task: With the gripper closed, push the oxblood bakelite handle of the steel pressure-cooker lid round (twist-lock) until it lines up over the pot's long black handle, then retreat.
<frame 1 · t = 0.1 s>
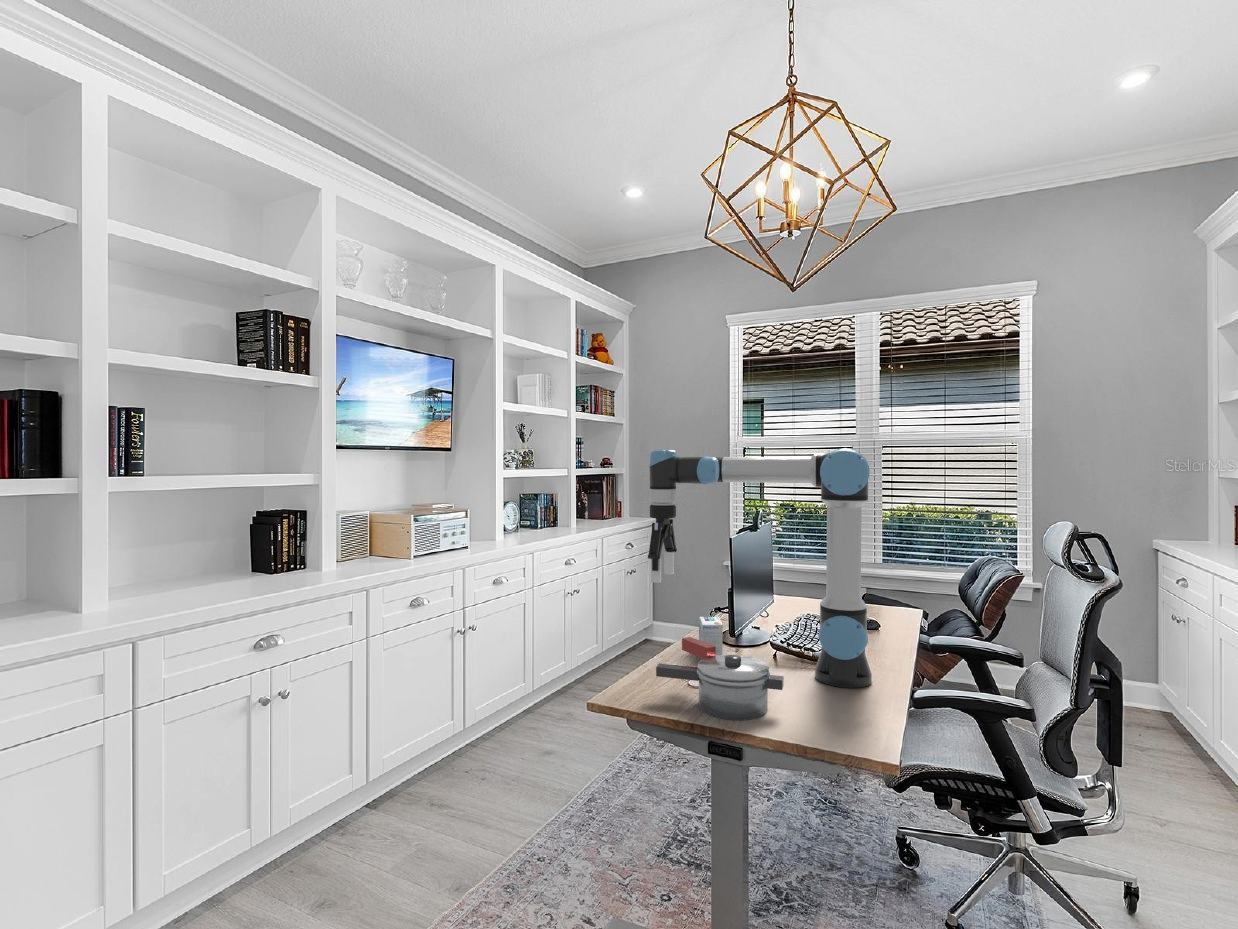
hand: (662, 578, 192), 28 cm above the table, fingers open, 13 cm apart
light bulb box: (710, 654, 213), on the table
lid: (719, 657, 172), point 11 cm above the table, hinge at -40.0°
cooker pot: (732, 706, 168), on the table
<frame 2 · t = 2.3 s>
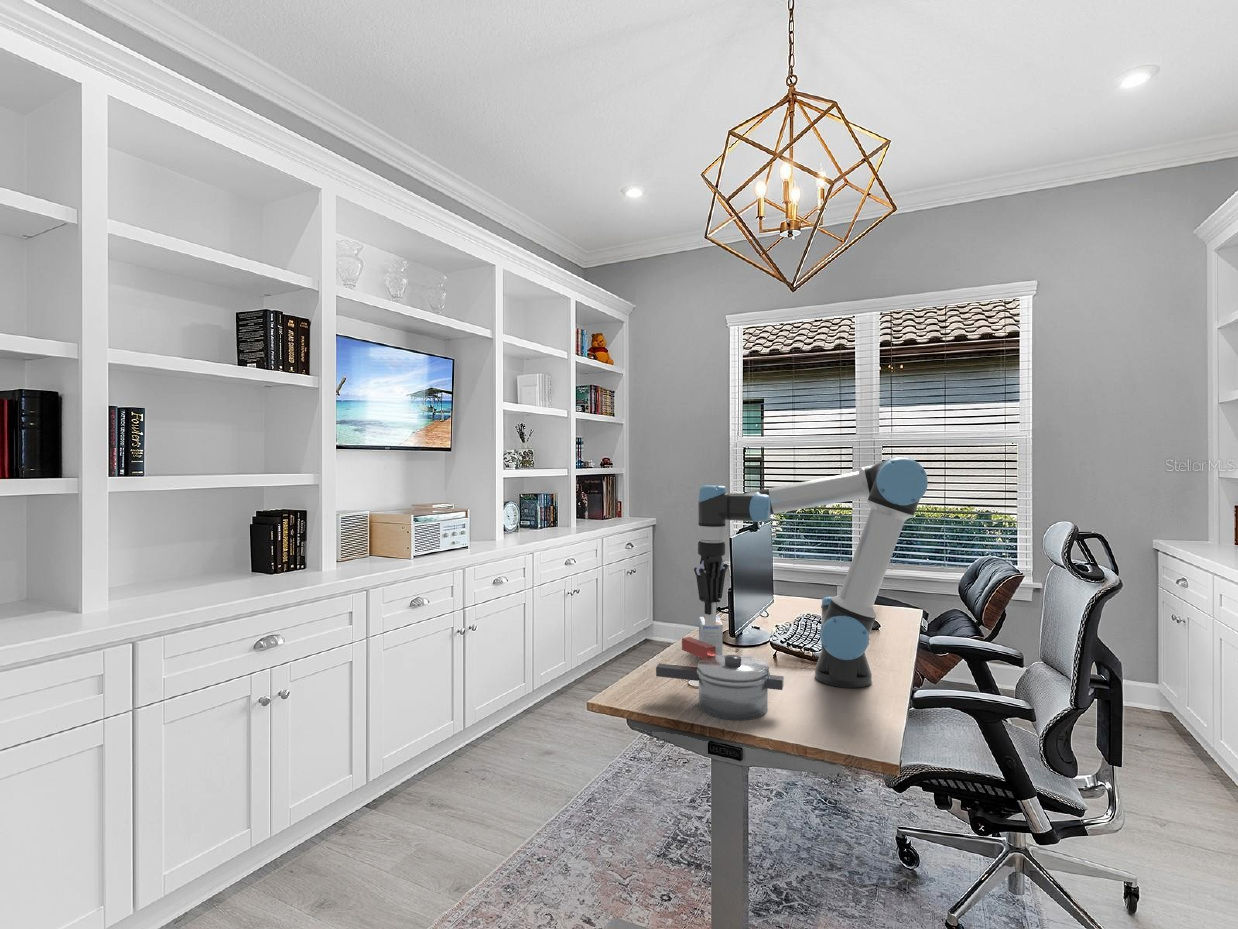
hand: (710, 625, 187), 16 cm above the table, fingers closed
nothing on the table moved.
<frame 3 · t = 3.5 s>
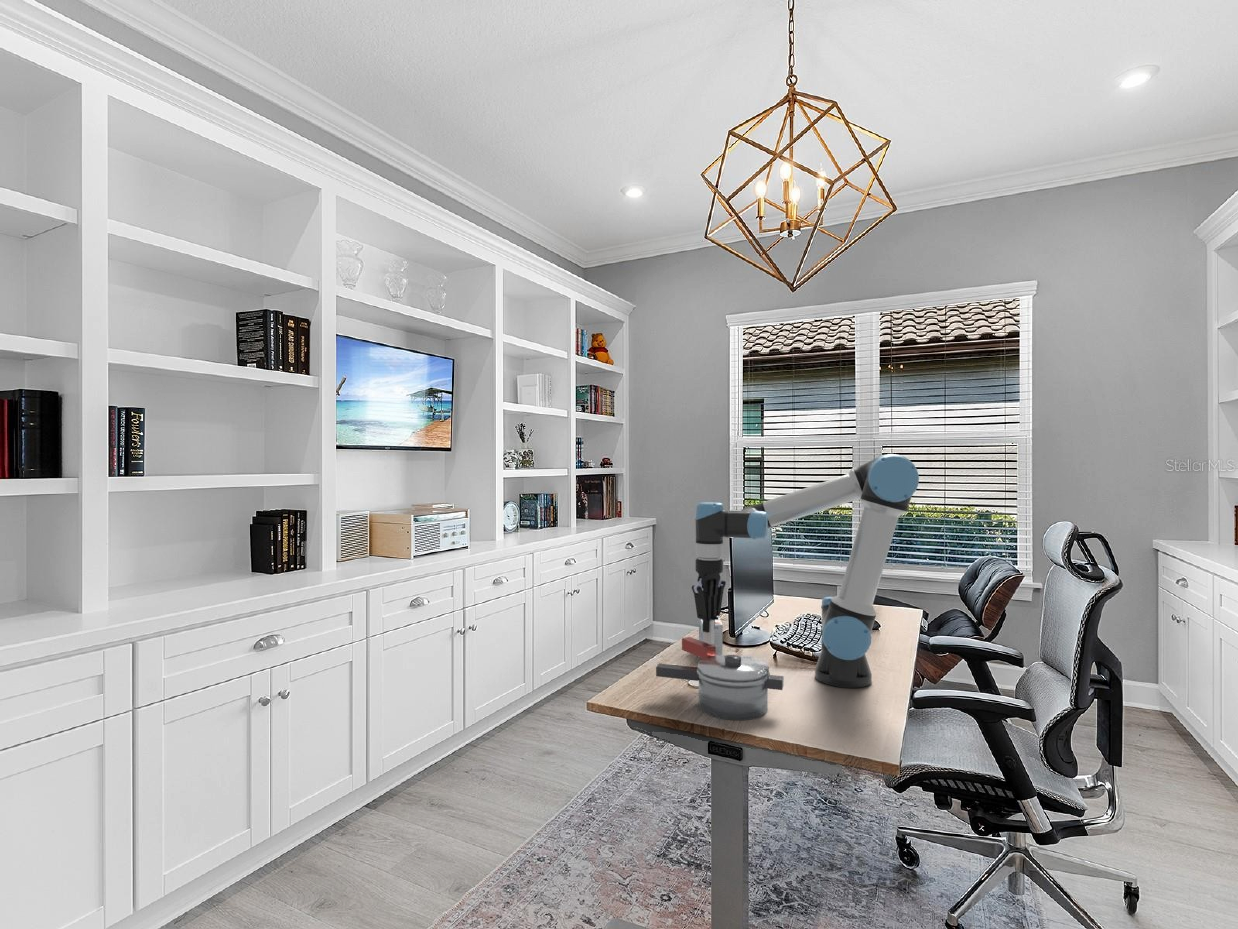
hand: (708, 643, 186), 11 cm above the table, fingers closed
nothing on the table moved.
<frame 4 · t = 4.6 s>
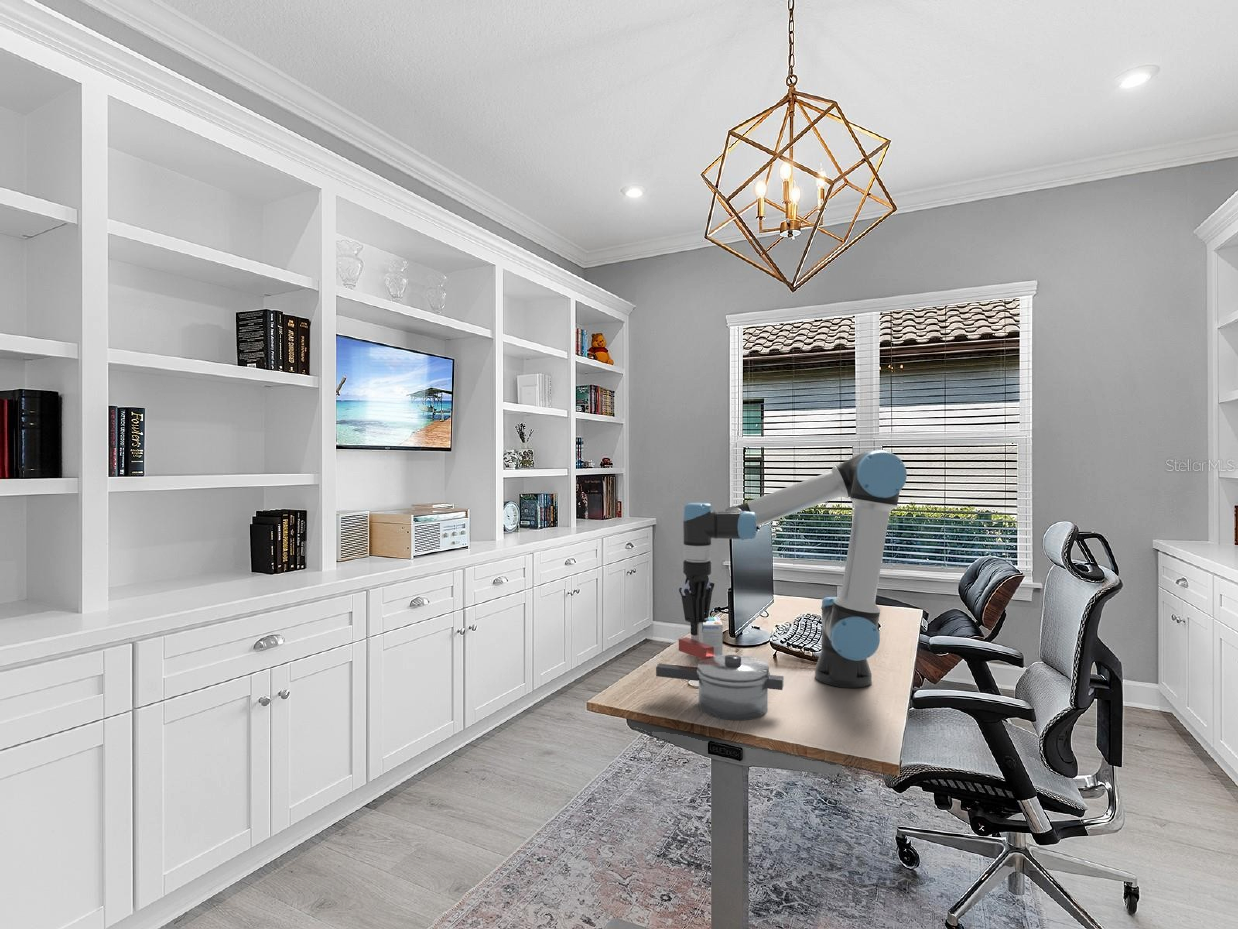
hand: (696, 646, 182), 11 cm above the table, fingers closed
lid: (718, 657, 172), point 11 cm above the table, hinge at -36.5°, touching gripper
everything else where it was.
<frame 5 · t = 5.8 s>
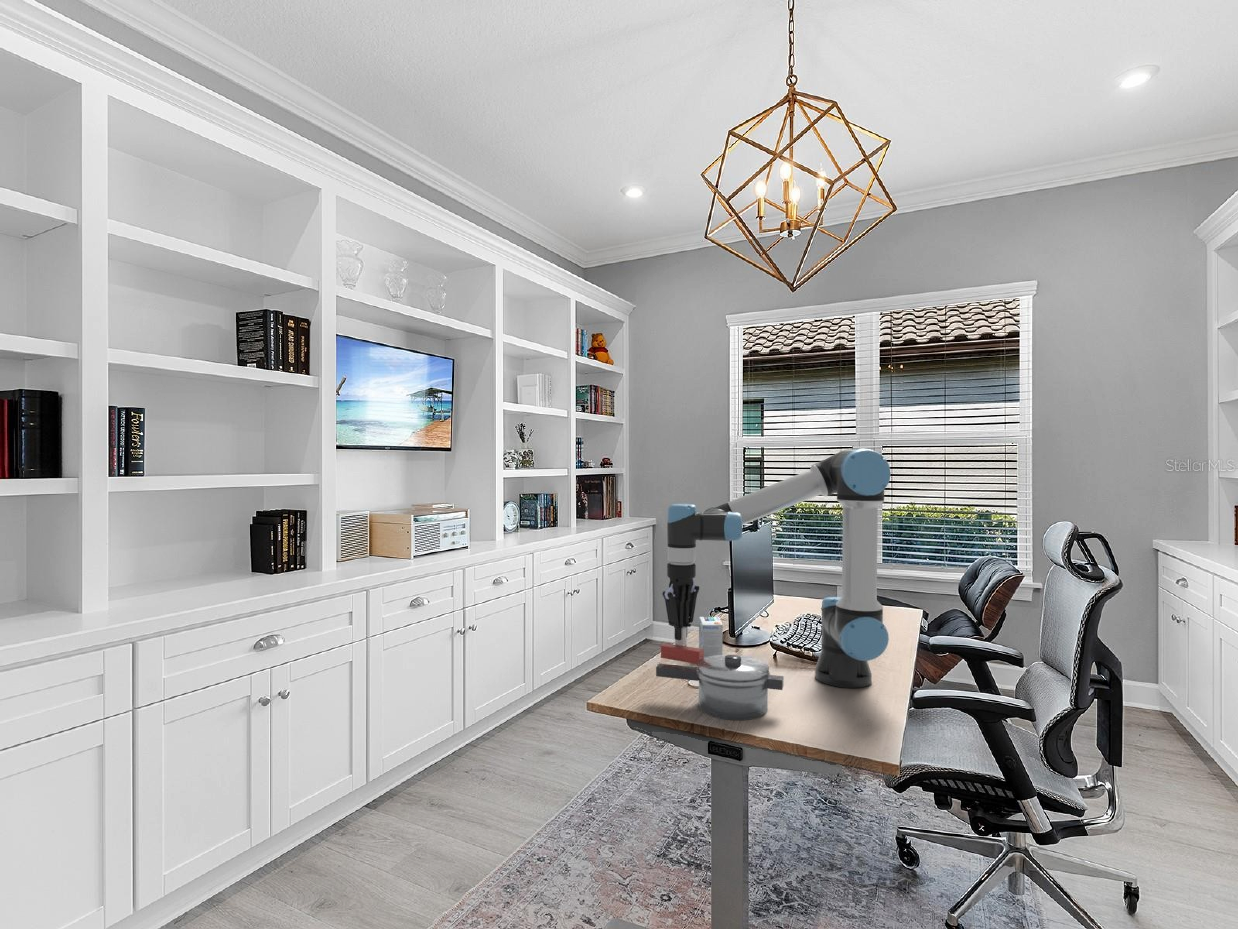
hand: (680, 651, 178), 11 cm above the table, fingers closed
lid: (713, 659, 170), point 11 cm above the table, hinge at -11.7°, touching gripper
everything else where it was.
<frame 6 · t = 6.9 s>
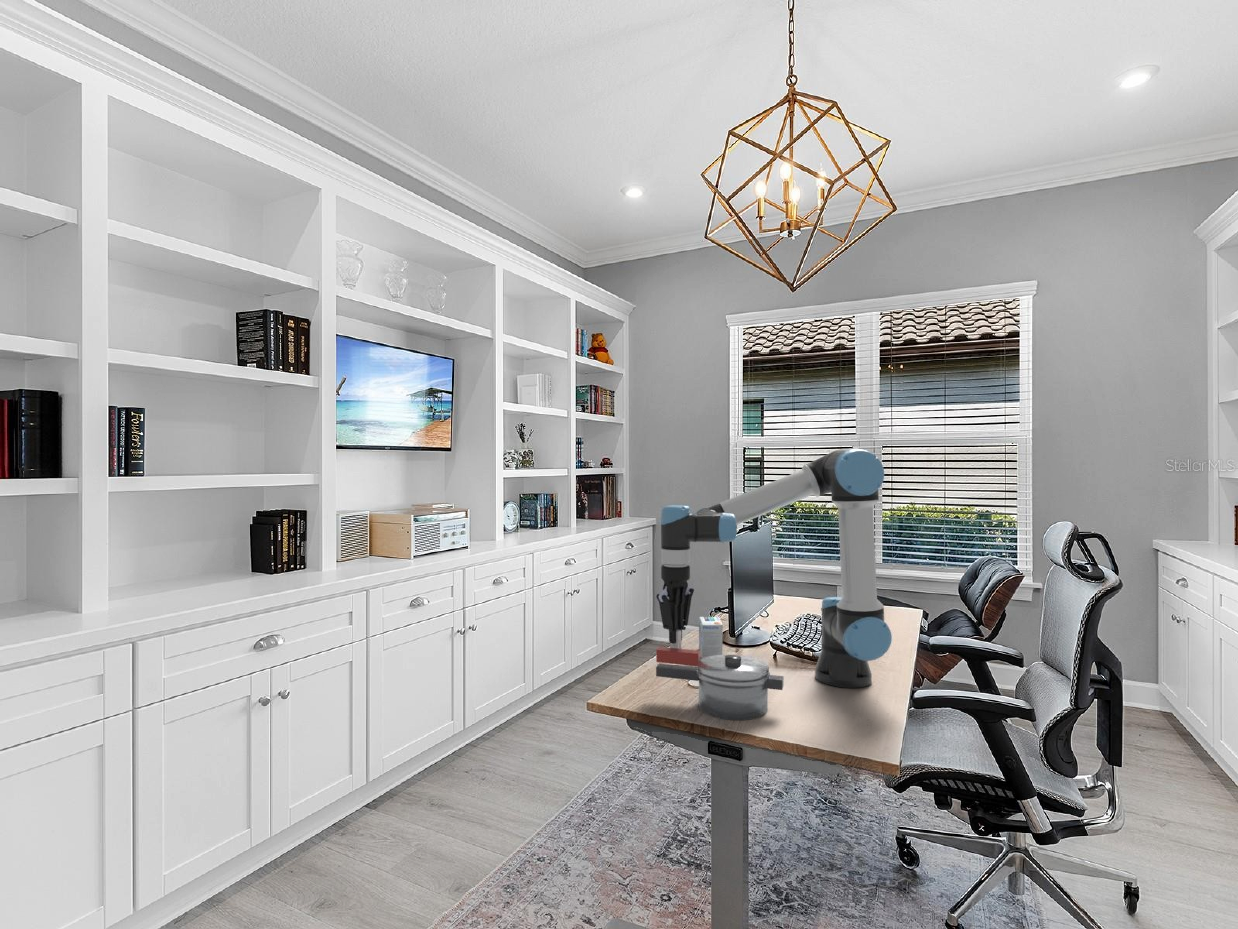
hand: (675, 654, 175), 11 cm above the table, fingers closed
lid: (711, 660, 169), point 11 cm above the table, hinge at -0.3°, touching gripper
everything else where it was.
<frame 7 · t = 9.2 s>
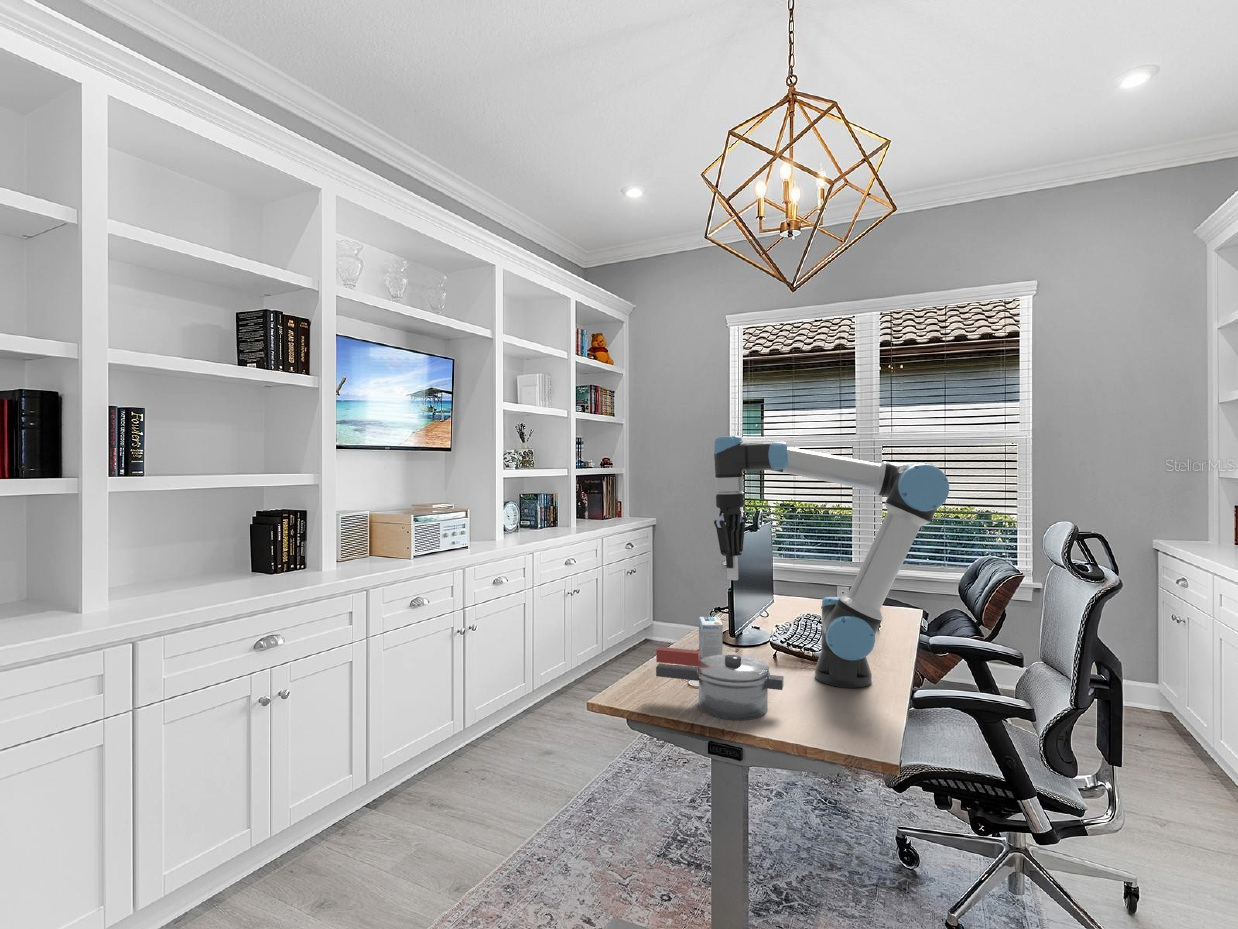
hand: (732, 579, 182), 29 cm above the table, fingers closed
lid: (711, 660, 169), point 11 cm above the table, hinge at -0.2°
everything else where it was.
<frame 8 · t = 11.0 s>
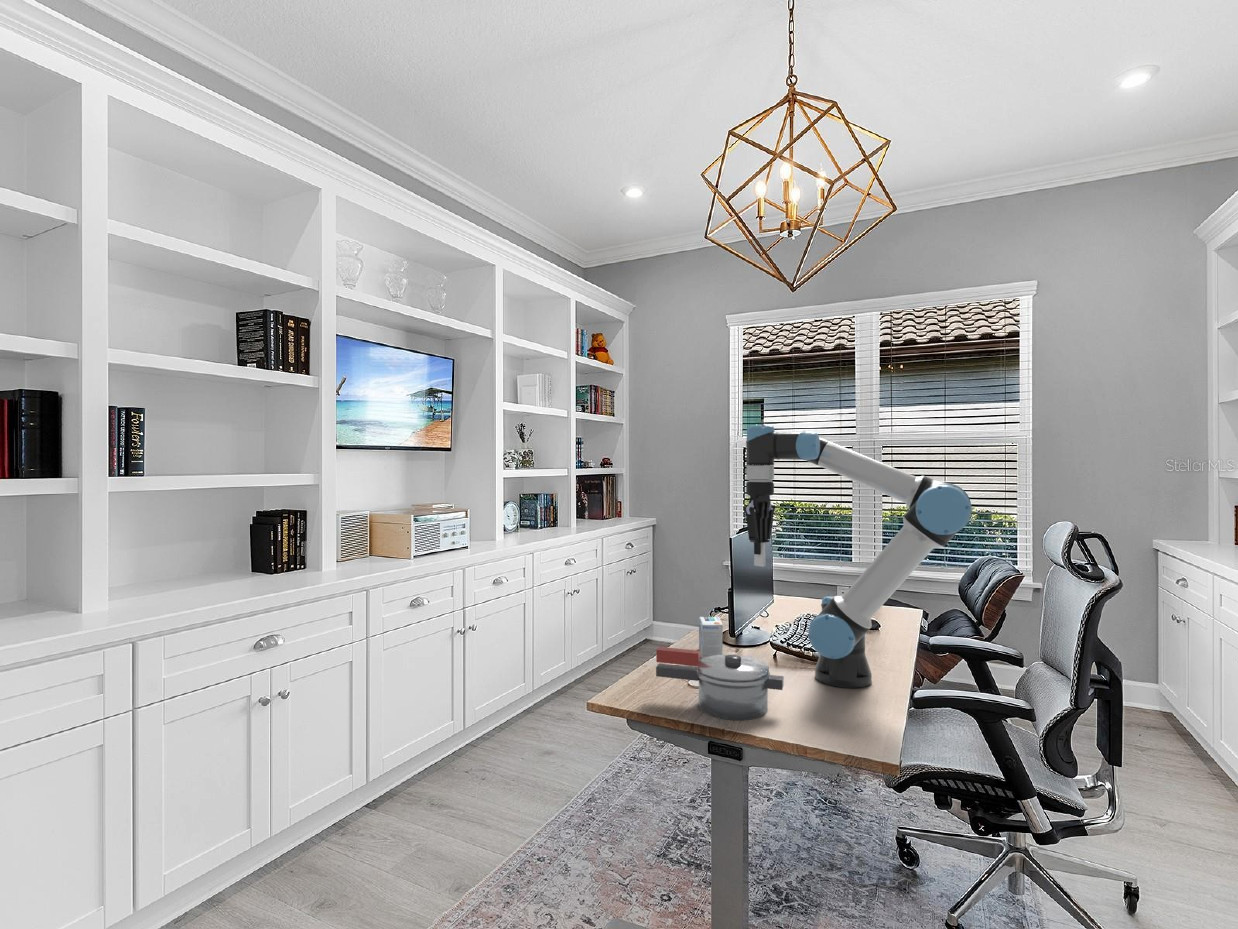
hand: (759, 565, 186), 32 cm above the table, fingers closed
nothing on the table moved.
at the end: lid at +0° (first picture: -40°) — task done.
